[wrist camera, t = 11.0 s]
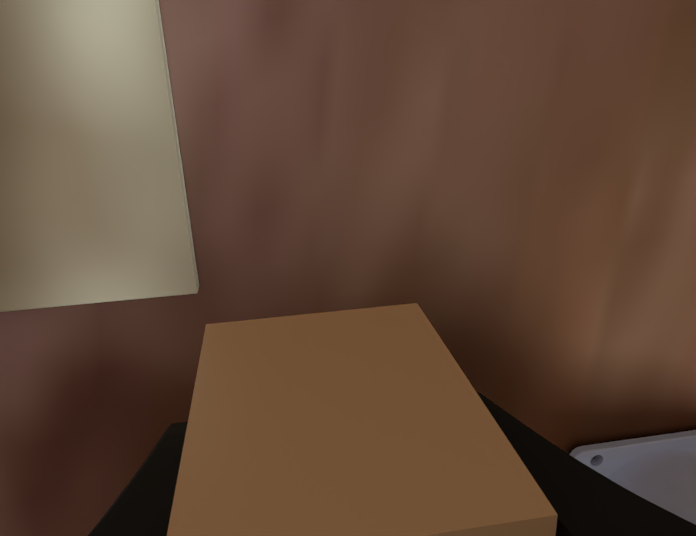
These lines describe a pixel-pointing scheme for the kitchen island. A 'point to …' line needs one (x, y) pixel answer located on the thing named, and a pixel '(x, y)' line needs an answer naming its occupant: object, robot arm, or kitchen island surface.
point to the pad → (89, 157)
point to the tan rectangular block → (345, 435)
